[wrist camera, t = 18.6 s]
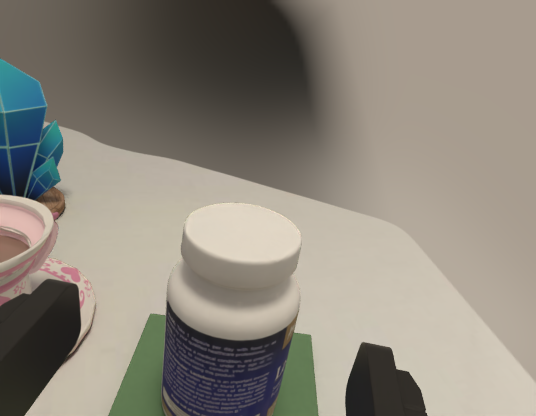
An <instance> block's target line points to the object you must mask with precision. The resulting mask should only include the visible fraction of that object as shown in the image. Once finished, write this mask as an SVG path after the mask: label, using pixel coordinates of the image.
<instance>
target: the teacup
mask: <svg viewBox="0 0 536 416" xmlns="http://www.w3.org/2000/svg"><path fill="white" fill-rule="evenodd" d="M58 216H59V213H58V212H55V213H52V212H51V211H50V210H49V209H48V208H47V207H46V206H45V205H43V204H41V203H39V202H37V201H34V200H31V199H28V198H24V197H18V196H11V195H0V306H1V305H2V304H4V303H6V302H7V301H9V300H11V299H13V298H15V297H17V296H19V295H21V294H22V293H25V294H31V293H32V292H33V291H34V290H35V289H36V288H37V287H38V286H39V285H40V284H41V283H42V282H43V281H45V280H46V279H55V280H60V281H65V282H70V283H74V284H77V286H78V288H79V299H80V312H81V332H80V335H79V338H78V341H77V343H76V345H75V346H74V348H73V349H72V351H71V352H70V353H69V355H70V354H71V353H72V352H73V351H74V350H75V349H76V347H77V346H78V344H79V343H80V341H81V340H82V339H83V337H84V336H85V334H86V333H87V331H88V330H89V329H90V327H91V324H92V319H93V315H94V311H95V306H96V300H95V297H94V293H93V290H92V286H91V283H90V282H89V281H88V280H87V279H86V278H85V277H84V276H83V275H82V274H81V273H80V272H79V271H78V269H76V268H74V267H72V266H70V265H68V264H66V263H64V262H61V261H59V260H57V259H54V258H48V256H49V254H50V252H51V251H52V249H53V247H54V245H55V242H56V238H57V234H58V225H57V223H56V222H55V221H54V220H55V219H57V217H58ZM69 355H68V356H69Z"/></svg>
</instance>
